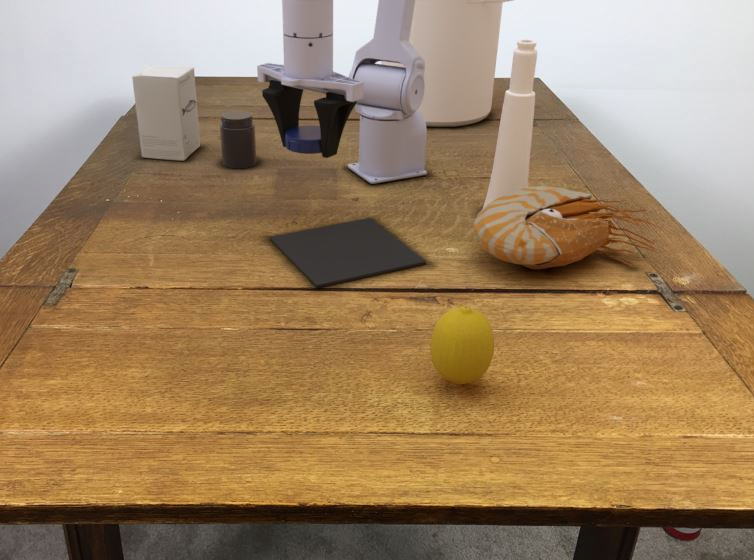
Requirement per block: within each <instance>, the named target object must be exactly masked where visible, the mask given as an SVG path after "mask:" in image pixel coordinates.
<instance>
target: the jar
mask: <svg viewBox="0 0 754 560" xmlns="http://www.w3.org/2000/svg"><path fill="white" fill-rule="evenodd" d="M220 121H221V122H220V123H219V133H220V135H219V136H220V146H221V147H220V148H221V160H222V165H223V166H224V167H226V168H229V169H239V170H241V169H248V168H251V167H254V166H255V165H256V164H257V142H256V123H255V122H253V113H252V112H250V111H247V110H229V111H224V112H223V113H221V115H220Z"/></svg>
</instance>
